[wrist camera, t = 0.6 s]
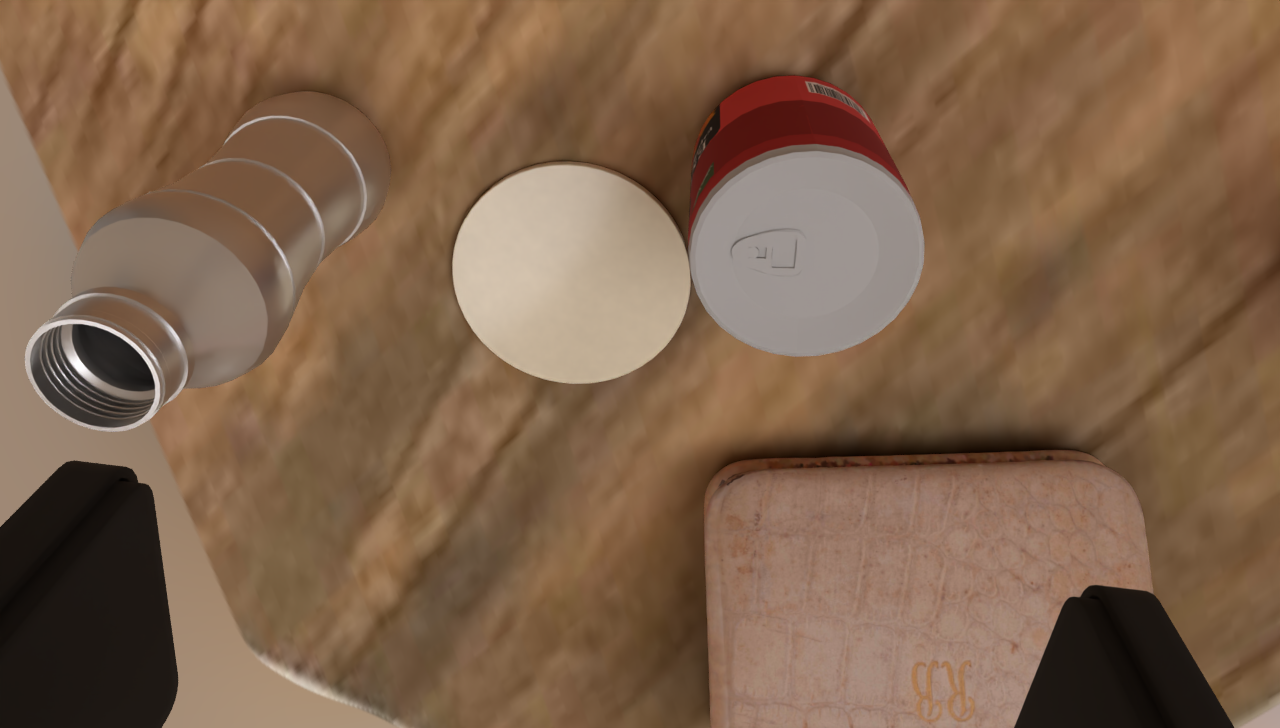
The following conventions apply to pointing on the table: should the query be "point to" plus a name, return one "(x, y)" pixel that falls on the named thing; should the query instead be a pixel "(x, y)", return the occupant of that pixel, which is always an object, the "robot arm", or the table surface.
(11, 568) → the robot arm
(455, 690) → the table surface
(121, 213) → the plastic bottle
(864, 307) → the canned food
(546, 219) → the coaster
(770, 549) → the case
